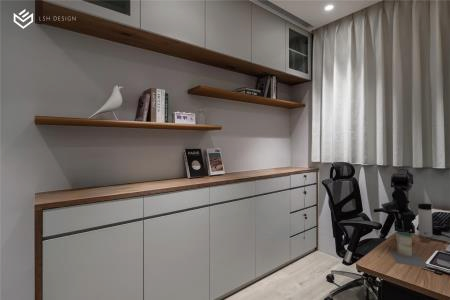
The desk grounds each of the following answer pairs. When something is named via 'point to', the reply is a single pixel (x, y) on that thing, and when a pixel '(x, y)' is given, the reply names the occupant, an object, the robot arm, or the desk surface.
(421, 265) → the mat
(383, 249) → the desk surface
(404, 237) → the ash block
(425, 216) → the travel mug
